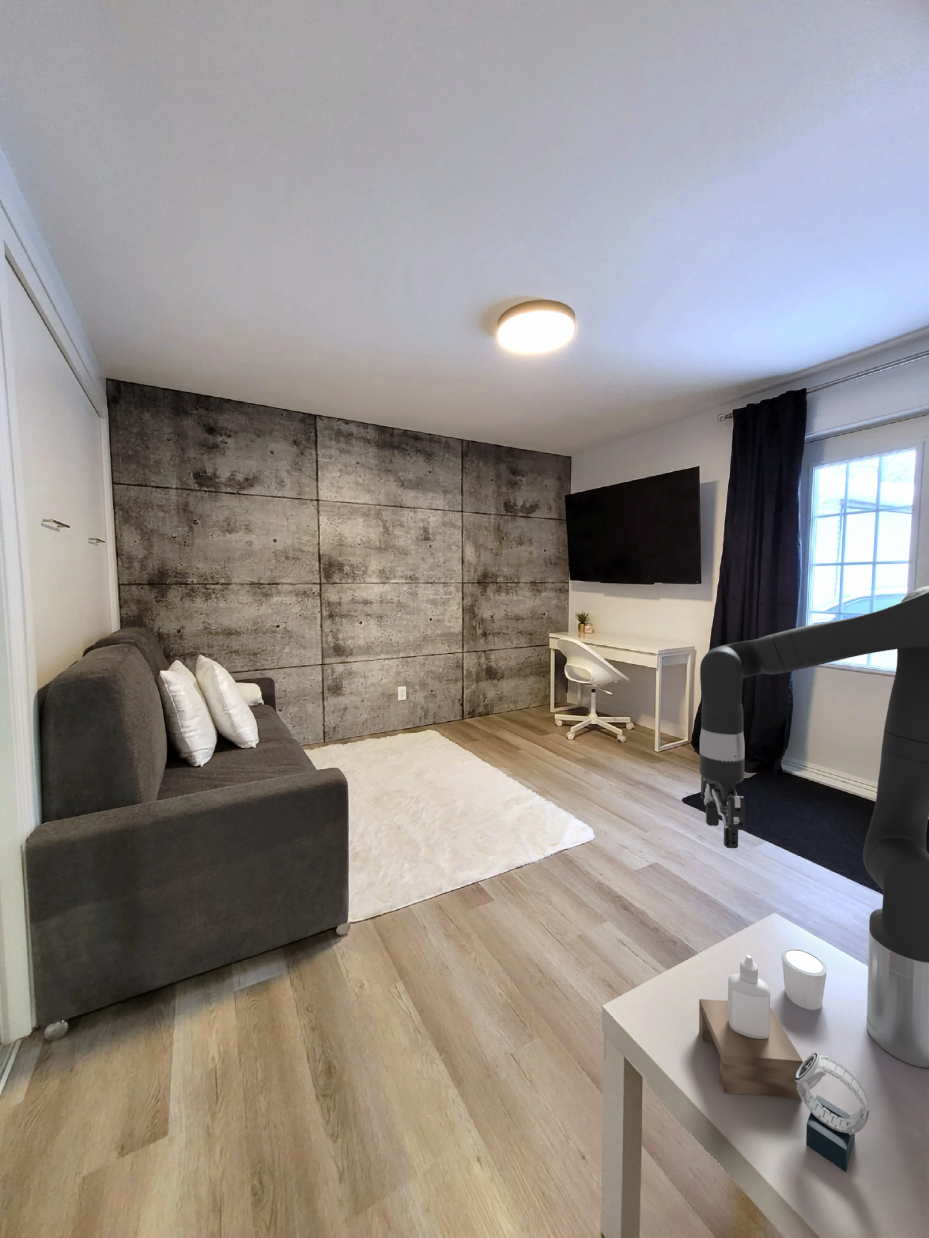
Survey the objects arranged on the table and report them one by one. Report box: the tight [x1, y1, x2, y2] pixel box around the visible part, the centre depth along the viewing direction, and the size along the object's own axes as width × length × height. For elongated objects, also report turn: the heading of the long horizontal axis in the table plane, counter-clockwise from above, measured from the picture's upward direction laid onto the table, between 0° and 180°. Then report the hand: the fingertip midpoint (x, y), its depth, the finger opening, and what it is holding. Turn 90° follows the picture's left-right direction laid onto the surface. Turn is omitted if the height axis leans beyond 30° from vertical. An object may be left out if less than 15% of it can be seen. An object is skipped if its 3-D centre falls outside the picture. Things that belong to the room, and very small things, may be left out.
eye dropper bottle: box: [727, 954, 771, 1039], centre depth 76 cm, size 4×6×12 cm
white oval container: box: [781, 947, 828, 1011], centre depth 89 cm, size 7×7×7 cm
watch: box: [795, 1052, 871, 1173], centre depth 66 cm, size 6×8×11 cm
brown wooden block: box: [698, 998, 804, 1100], centre depth 77 cm, size 11×10×6 cm
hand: (721, 835), depth 93 cm, fingers open, 8 cm apart
